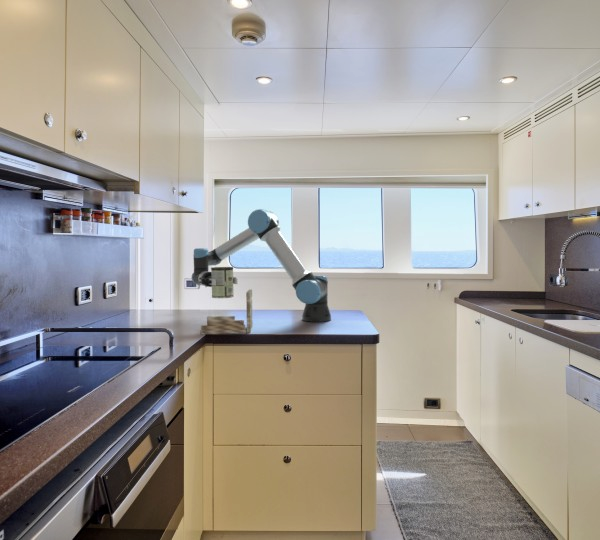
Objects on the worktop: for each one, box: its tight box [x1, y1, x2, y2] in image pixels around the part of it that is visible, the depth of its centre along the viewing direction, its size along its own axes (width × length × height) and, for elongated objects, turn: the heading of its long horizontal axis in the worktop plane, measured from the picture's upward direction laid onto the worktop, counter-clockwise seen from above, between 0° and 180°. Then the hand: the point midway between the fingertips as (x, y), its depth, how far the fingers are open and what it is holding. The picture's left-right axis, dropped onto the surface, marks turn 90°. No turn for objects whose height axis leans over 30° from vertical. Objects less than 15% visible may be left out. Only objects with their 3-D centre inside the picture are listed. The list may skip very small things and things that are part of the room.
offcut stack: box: [200, 315, 246, 331], centre depth 183 cm, size 19×2×6 cm, turn 93°
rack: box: [199, 288, 254, 334], centre depth 190 cm, size 22×16×18 cm
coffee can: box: [210, 266, 234, 299], centre depth 195 cm, size 10×10×14 cm
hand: (226, 281), depth 191 cm, fingers closed on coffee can, 10 cm apart
